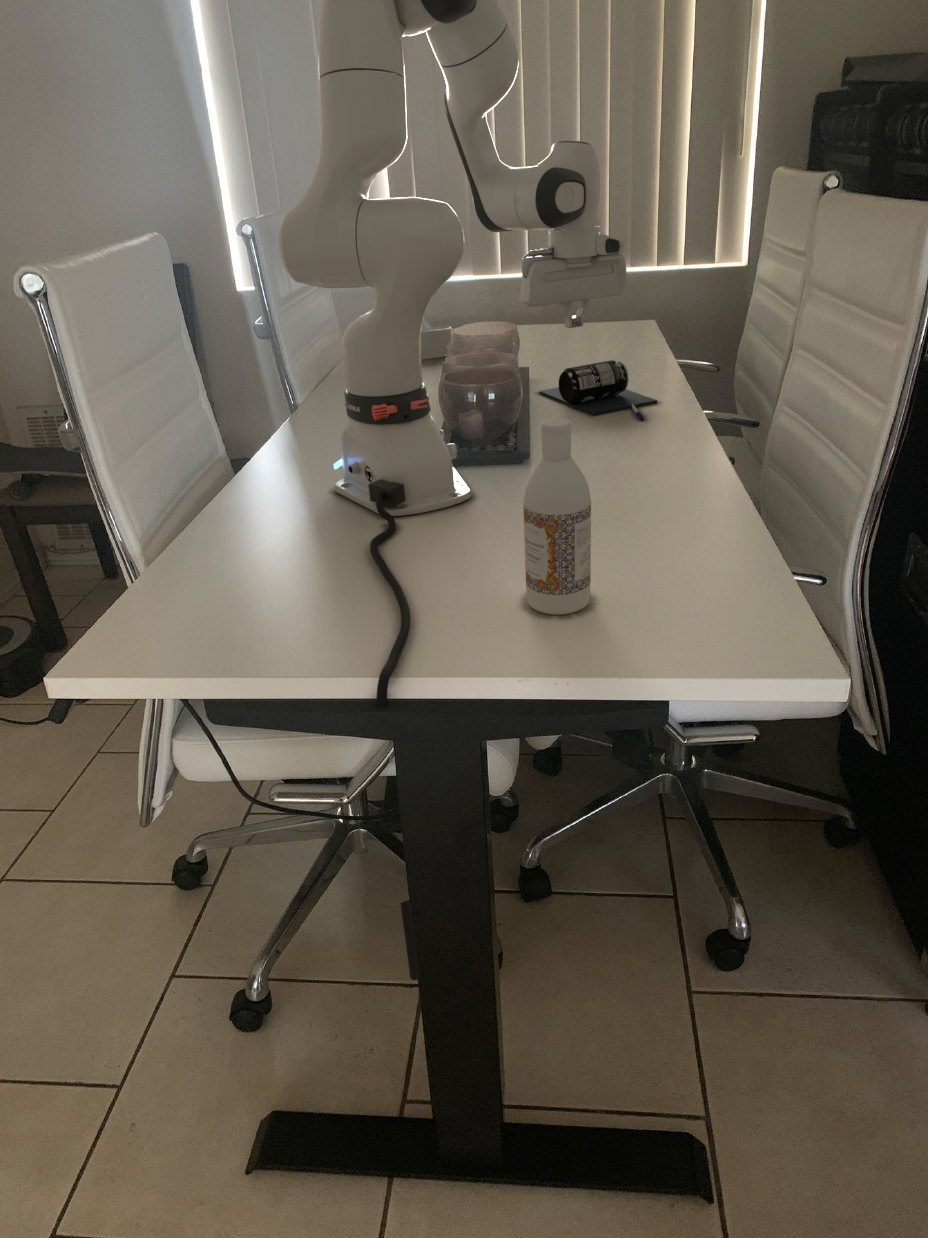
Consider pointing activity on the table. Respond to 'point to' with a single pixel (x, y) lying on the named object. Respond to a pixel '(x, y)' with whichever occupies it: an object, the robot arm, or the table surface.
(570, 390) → the beverage can
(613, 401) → the mat
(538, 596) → the bath foam
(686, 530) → the table surface
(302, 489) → the table surface
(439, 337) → the phone holder
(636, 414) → the ballpoint pen
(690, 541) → the table surface
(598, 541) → the table surface
